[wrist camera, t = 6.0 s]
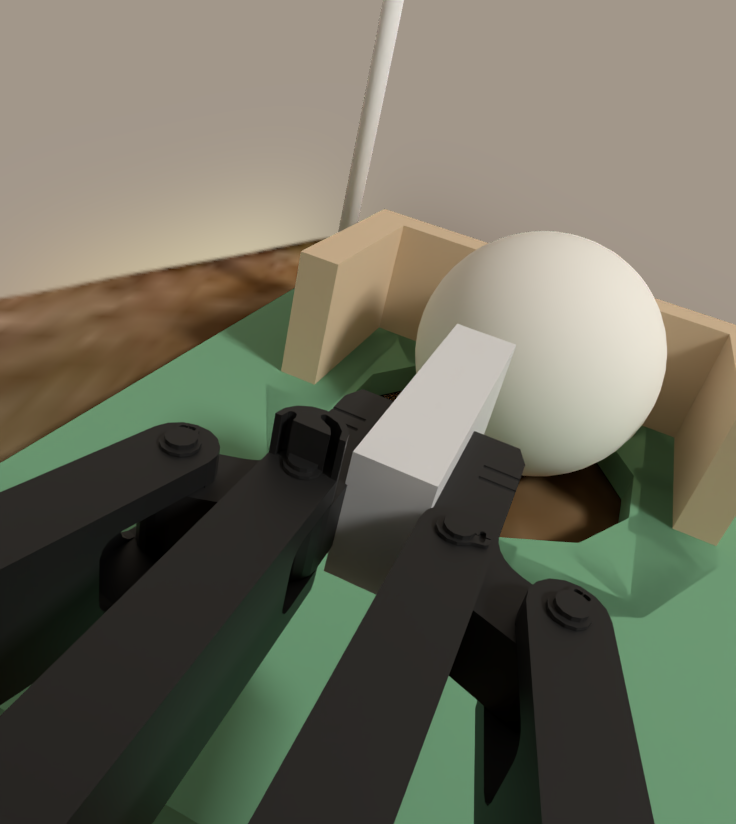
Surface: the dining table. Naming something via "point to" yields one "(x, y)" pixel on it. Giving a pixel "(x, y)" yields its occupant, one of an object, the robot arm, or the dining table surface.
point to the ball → (557, 344)
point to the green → (532, 559)
